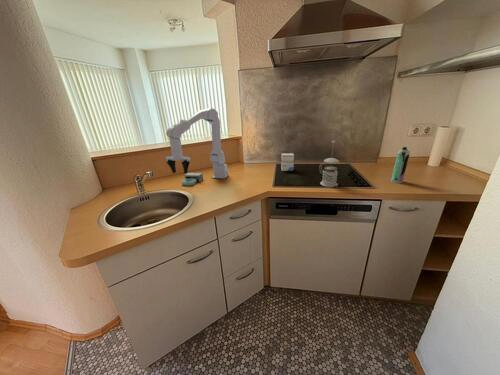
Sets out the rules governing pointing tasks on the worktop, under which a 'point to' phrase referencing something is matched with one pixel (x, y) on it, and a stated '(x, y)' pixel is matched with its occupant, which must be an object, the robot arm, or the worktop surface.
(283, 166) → the ink box
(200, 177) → the low shelf
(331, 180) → the french press
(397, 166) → the spray can
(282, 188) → the worktop surface
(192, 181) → the tray shell
